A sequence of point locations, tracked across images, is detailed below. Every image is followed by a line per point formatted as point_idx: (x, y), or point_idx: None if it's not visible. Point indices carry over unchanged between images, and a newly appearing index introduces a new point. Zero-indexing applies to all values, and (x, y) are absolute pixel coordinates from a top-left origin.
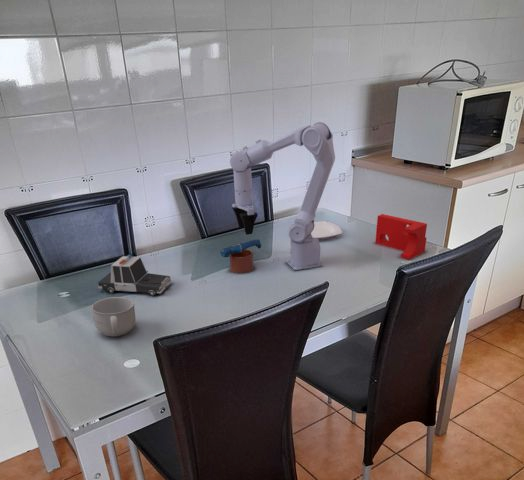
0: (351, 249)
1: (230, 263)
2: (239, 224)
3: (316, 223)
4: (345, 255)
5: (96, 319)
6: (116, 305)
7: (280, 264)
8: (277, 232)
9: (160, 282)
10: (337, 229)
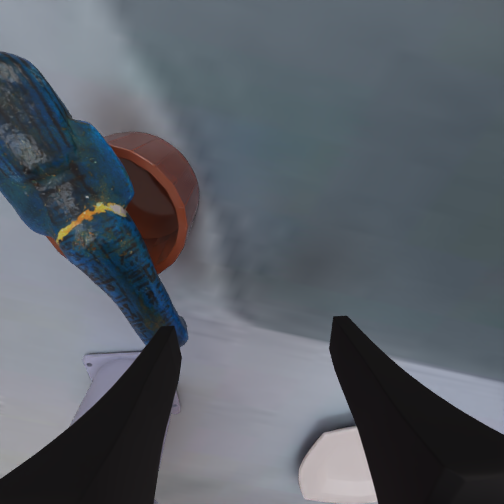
0: (218, 479)
1: (111, 136)
2: (342, 337)
3: None
4: (181, 464)
5: None
6: None
7: None
8: (461, 386)
9: None
10: (336, 498)
